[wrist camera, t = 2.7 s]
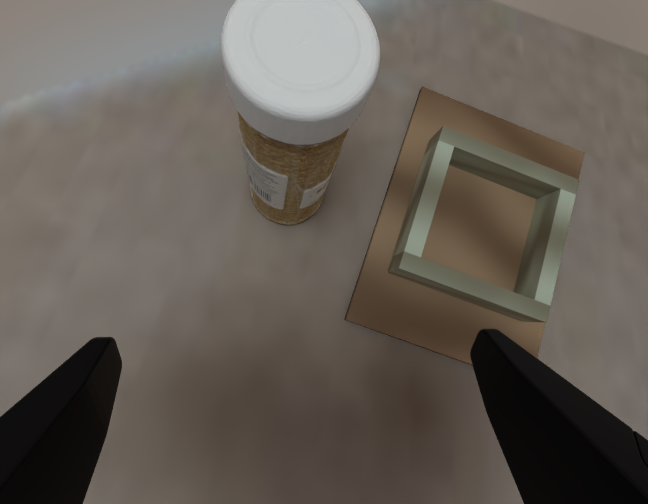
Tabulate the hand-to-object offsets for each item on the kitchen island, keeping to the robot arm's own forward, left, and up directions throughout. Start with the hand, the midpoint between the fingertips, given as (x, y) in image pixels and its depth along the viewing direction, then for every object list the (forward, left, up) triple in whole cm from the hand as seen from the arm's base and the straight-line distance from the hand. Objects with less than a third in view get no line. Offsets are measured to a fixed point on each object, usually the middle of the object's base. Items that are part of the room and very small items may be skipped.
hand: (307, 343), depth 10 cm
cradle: (-1, -13, -13) cm, 19 cm away
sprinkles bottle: (+7, -4, -13) cm, 16 cm away
